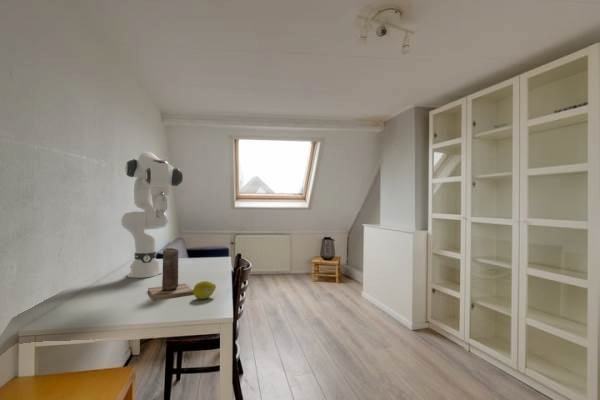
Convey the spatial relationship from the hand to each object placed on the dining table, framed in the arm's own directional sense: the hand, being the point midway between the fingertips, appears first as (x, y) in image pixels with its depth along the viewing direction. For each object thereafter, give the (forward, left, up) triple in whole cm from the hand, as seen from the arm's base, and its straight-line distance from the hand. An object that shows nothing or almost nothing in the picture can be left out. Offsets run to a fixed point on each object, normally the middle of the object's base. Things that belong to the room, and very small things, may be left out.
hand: (159, 218), depth 168 cm
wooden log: (+9, +3, -35) cm, 36 cm away
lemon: (+28, +14, -37) cm, 48 cm away
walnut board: (+9, +3, -36) cm, 38 cm away
